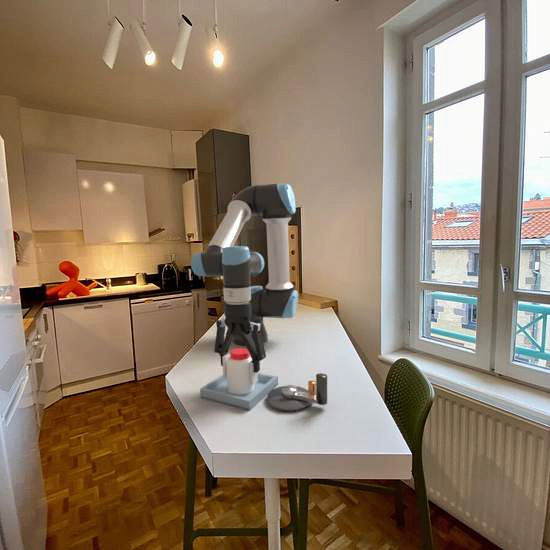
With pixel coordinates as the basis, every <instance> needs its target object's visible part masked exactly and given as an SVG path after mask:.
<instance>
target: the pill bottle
mask: <svg viewBox="0 0 550 550" xmlns="http://www.w3.org/2000/svg"><path fill="white" fill-rule="evenodd" d="M229 354H230V357H229V358H228V359H227V391H228V392H229V393H231V394H235V395H243V394H248V393H250V392H252V391H253V390H254V385H251V382H250V361H252V358H251V356H250V353H249V351H248V349H247V348H245V347H244V348H243V347H242V348H241V347H237V348H233V349H232V350H230V351H229Z"/></svg>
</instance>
